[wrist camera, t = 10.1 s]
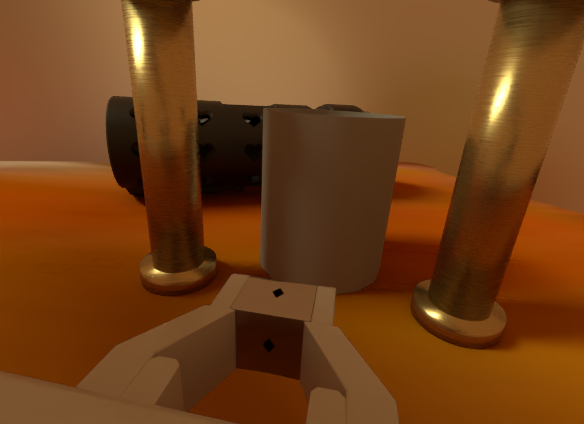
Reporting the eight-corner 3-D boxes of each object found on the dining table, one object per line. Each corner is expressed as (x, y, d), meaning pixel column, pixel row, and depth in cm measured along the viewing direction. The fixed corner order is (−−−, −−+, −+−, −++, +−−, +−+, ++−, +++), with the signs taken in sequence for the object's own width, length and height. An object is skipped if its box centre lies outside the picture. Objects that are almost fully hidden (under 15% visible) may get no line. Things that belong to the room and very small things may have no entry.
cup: (319, 227, 27) (330, 109, 24) (402, 266, 22) (432, 118, 18) (237, 252, 22) (235, 106, 19) (317, 313, 16) (337, 118, 13)
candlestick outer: (419, 339, 15) (598, -370, 7) (404, 288, 19) (511, -203, 11) (518, 356, 14) (827, -406, 7) (481, 299, 18) (648, -214, 11)
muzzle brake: (133, 184, 37) (121, 92, 33) (343, 178, 45) (351, 104, 42) (116, 212, 29) (97, 93, 25) (378, 199, 37) (393, 108, 33)
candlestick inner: (124, 288, 17) (33, -280, 10) (167, 253, 22) (127, -169, 14) (196, 301, 17) (158, -300, 9) (227, 262, 21) (218, -177, 13)
